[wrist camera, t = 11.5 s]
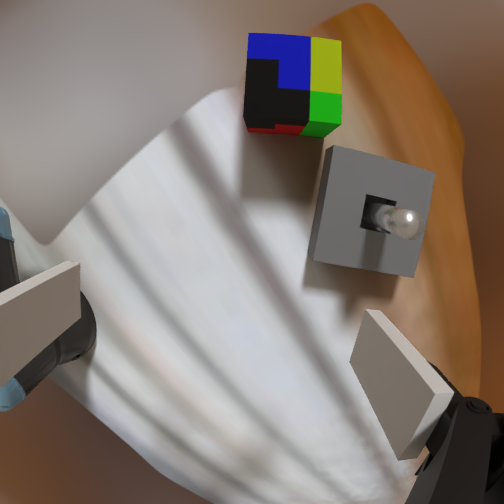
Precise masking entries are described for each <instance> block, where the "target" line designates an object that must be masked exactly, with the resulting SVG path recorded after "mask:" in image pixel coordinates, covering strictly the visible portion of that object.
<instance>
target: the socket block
mask: <svg viewBox="0 0 504 504" xmlns="http://www.w3.org/2000/svg"><path fill="white" fill-rule="evenodd" d="M434 176H435V173H434V172H431V171H428V170H425V169H422V168H419V167H415V166H412V165H409V164H405V163H402V162H399V161H395V160H391V159H388V158H384V157H381V156H377V155H373V154H369V153H365V152H361V151H357V150H353V149H349V148H345V147H340V146H336V145H333V146H331V147H330V148H328V149H326V153H325V159H324V165H323V171H322V177H321V183H320V189H319V195H318V200H317V206H316V211H315V217H314V222H313V227H312V233H311V238H310V243H309V248H308V254H309V255H310V257H311V258H312V260H313V261H317V262H323V263H329V264H335V265H341V266H346V267H352V268H358V269H364V270H370V271H376V272H382V273H388V274H394V275H399V276H405V277H411V278H414V274H415V270H416V267H417V263H418V258H419V254H420V250H421V246H422V241H423V237H424V232H425V227H426V223H427V217H428V212H429V207H430V201H431V195H432V189H433V183H434ZM366 202H375V203H380V204H385V205H390V206H395V207H399V208H404V209H409V210H413V211H417V212H419V213H420V214H421V215H422V217H423V219H424V230H423V233H422V234H421V236H420V237H419V238H417V239H415V240H408V239H405V238H403V237H401V236H398V235H396V234H394V233H391V232H389V231H386V230H384V229H382V228H379V227H377V226H374V225H372V224H370V223H367V222H365V221H364V220H363V219H362V214H363V208H364V203H366Z"/></svg>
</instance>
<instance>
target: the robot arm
mask: <svg viewBox="0 0 504 504" xmlns="http://www.w3.org/2000/svg"><path fill="white" fill-rule="evenodd" d="M95 336H96V323H95V318H94V314H93V311H92V309H91V306H90V304H89V302H88V301H87V299H86V297H85V296H84V294H83V293H82V292H81V291H80V263H76V262H71V261H65V262H63V263H61V264H59V265H57V266H54V267H52V268H50V269H48V270H46V271H44V272H42V273H40V274H38V275H35V276H33V277H31V278H29V279H27V280H25V281H23V282H21V283H20V280H19V275H18V269H17V263H16V257H15V250H14V239H13V237H12V232H11V226H10V219H9V215H8V213H7V211H6V210H5V209H4V208H2V207H0V411H1V412H2V411H9V410H11V409H12V408H13V407H15V406H16V405H17V404H18V403H20V402H21V401H23V400H25V398H26V396H27V395H28V394H29V393H30V392H31V391H32V390H33V389H34V388H35V387H36V386H37V385H38V384H39V383H40V381H42V380H43V379H44V378H45V377H46V376H47V375H48V374H49V373H50V372H51V371H52V370H53V369H54V368H55V367H56V366H57V365H60V364H63V363H67V362H70V361H73V360H76V359H78V358H80V357H82V356H83V355H84V354H85V353H86V352H87V351H88V350H89V349H90V348H91V346H92V345H93V343H94V340H95ZM349 362H350V364H351V366H352V368H353V370H354V372H355V374H356V376H357V378H358V380H359V382H360V384H361V385H362V387H363V389H364V391H365V393H366V395H367V397H368V399H369V402H370V404H371V406H372V408H373V410H374V412H375V414H376V416H377V418H378V420H379V422H380V424H381V426H382V428H383V430H384V432H385V434H386V436H387V438H388V440H389V443H390V445H391V447H392V449H393V451H394V453H395V455H396V457H397V459H398V461H399V460H406V459H413V458H417V457H418V456H419V454H420V453H421V451H422V449H423V448H424V446H425V445H426V447H427V448H428V450H429V452H430V453H429V454H428V456H427V457H426V459H425V460H424V462H423V463H422V465H421V466H420V467H419V469H418V470H417V472H416V473H415V475H418V474H419V475H418V477H417V479H416V481H415V484H414V486H413V488H412V490H411V492H410V494H409V496H408V498H407V500H406V502H405V504H504V413H493V412H492V409H491V407H490V406H489V405H488V404H487V403H486V402H484V401H483V400H480V399H478V398H475V397H463V396H462V395H461V394H460V393H459V391H458V390H457V389H456V388H455V387H454V386H453V385H452V384H451V382H450V381H448V379H447V378H446V377H445V376H444V375H443V373H442V372H441V371H440V370H439V369H438V368H437V367H436V366H434V365H433V364H431V363H430V362H428V361H427V360H425V359H424V357H423V356H422V355H421V354H420V353H419V352H418V351H417V350H416V349H415V348H414V346H413V345H412V344H411V343H410V342H409V341H408V340H407V339H406V338H405V337H404V336H403V334H402V333H401V332H400V331H399V330H398V329H397V328H396V327H395V326H394V325H393V324H392V323H391V322H390V321H389V319H388V318H387V317H386V316H385V315H384V314H383V313H382V312H381V311H380V310H371V309H365V312H364V315H363V319H362V322H361V326H360V329H359V332H358V336H357V339H356V342H355V345H354V349H353V352H352V355H351V358H350V361H349Z"/></svg>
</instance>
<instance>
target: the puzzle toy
mask: <svg viewBox="0 0 504 504" xmlns="http://www.w3.org/2000/svg"><path fill="white" fill-rule="evenodd" d="M341 114H342V56H341V41H338V40H331V39H324V38H316V37H307V36H296V35H284V34H267V33H249V36H248V51H247V66H246V81H245V97H244V113H243V117H244V120H245V123H246V126H247V129H248V132H257V133H275V134H290V135H302V136H313V137H323V138H324V137H326V136H327V135H328V134H329V133H331V132H332V131H333V130H334V129H336V128H337V127H338V126H340V125H341Z"/></svg>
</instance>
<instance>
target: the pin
mask: <svg viewBox="0 0 504 504" xmlns="http://www.w3.org/2000/svg"><path fill="white" fill-rule="evenodd" d="M362 219H363V220H364V221H365V222H367V223H370V224H372V225H374V226H377V227H379V228H382V229H384V230H386V231H389V232H391V233H394V234H396V235H398V236H401V237H403V238H405V239H408V240H415V239H417V238H419V237H420V236H421V234H422V233H423V230H424V219H423V217H422V215H421V214H420V213H419V212H417V211H413V210H409V209H404V208H399V207H395V206H390V205H385V204H380V203H375V202H366V203H364V208H363V214H362Z"/></svg>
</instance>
